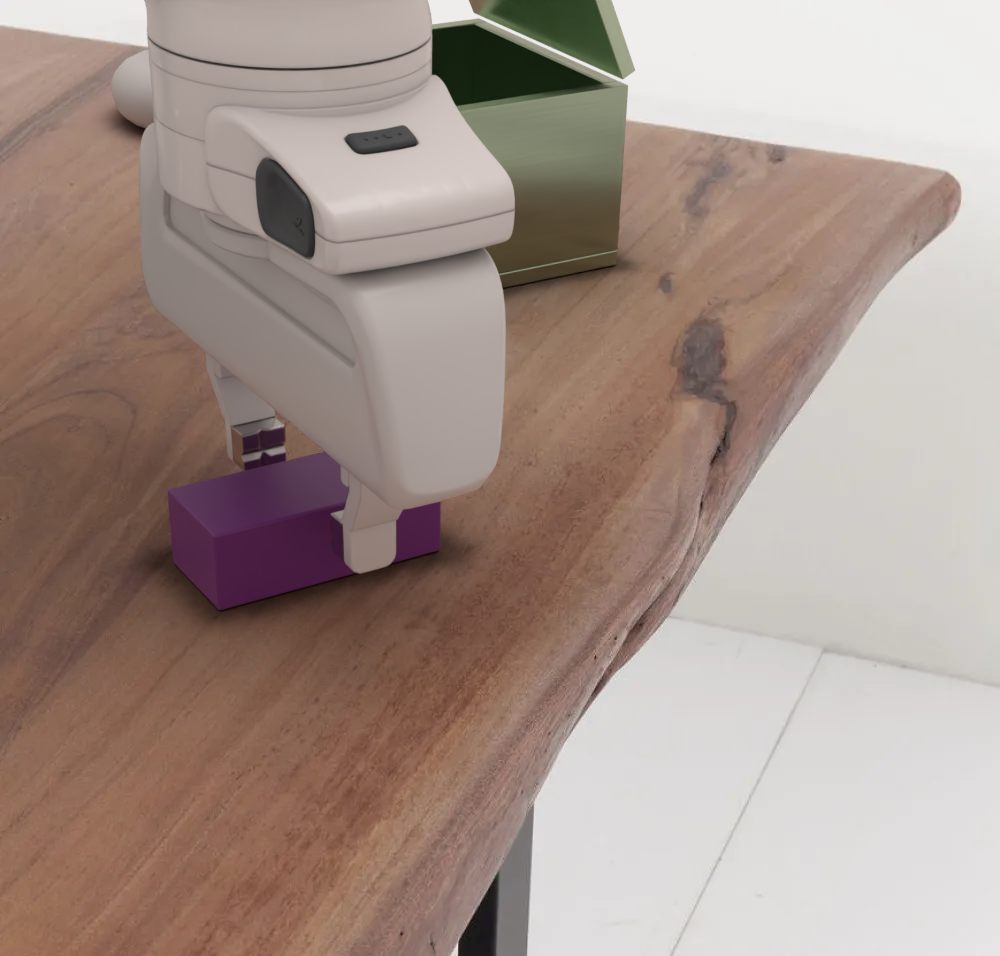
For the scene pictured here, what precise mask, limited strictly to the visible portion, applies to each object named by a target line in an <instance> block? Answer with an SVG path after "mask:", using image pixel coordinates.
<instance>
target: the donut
mask: <svg viewBox="0 0 1000 956" xmlns="http://www.w3.org/2000/svg"><path fill="white" fill-rule="evenodd" d="M110 92H111V95H112V99H113V101H114V105H115V107H116V108H117V110H118V112H119V113H120V115H122V116H123V117H124V118H125V119H126V120H128V121H129V122H131V123H132V124H134V125H135V126H138V127H140V128H143V129H146V128H147V127H148V126H149V125H150V124H152V123H154V115H153V102H152V89H151V77H150V64H149V53H148V49H144V50H142V51H140V52H138V53H136V54H133V55H131V56H130V57H127V58H126V59H124V60H123V62H122V63H121V64H120V65H119V66H118V67H117V69H116V70H115V71H114V73H113V76H112V78H111V83H110Z"/></svg>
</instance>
